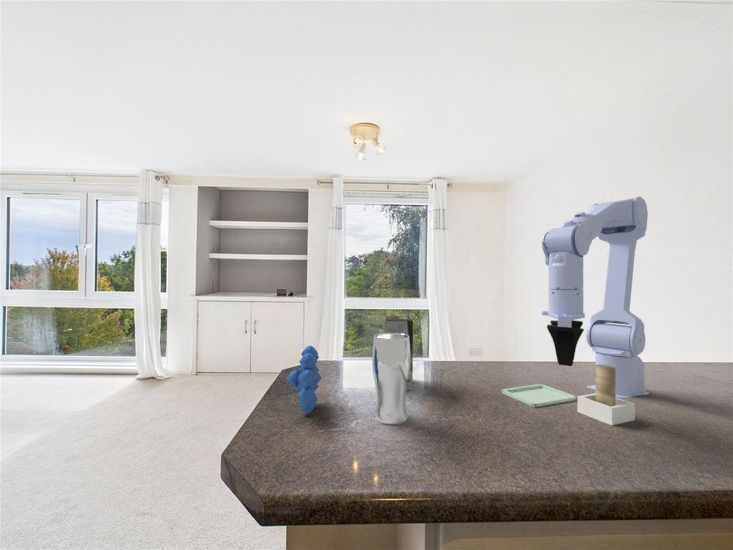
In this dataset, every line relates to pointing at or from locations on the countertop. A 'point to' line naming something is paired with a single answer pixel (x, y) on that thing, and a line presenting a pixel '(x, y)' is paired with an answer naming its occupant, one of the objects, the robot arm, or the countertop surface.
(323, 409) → the countertop surface
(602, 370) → the dowel
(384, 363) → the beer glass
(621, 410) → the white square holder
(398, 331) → the coffee box
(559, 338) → the robot arm
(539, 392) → the tray
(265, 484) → the countertop surface
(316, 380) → the grapes
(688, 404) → the countertop surface
